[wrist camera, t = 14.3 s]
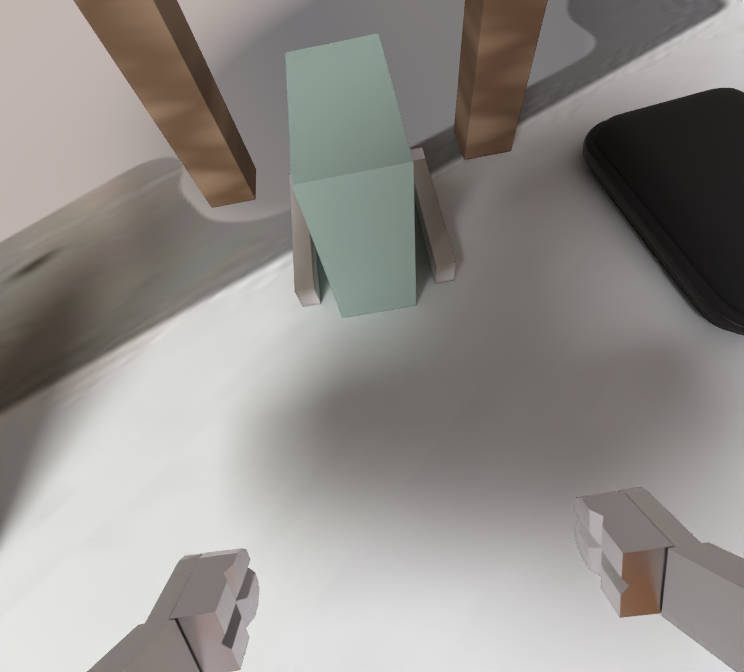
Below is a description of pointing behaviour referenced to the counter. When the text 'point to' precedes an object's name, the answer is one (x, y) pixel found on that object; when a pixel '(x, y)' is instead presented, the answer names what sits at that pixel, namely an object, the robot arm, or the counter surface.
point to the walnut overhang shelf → (238, 174)
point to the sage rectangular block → (353, 172)
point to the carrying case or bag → (683, 191)
